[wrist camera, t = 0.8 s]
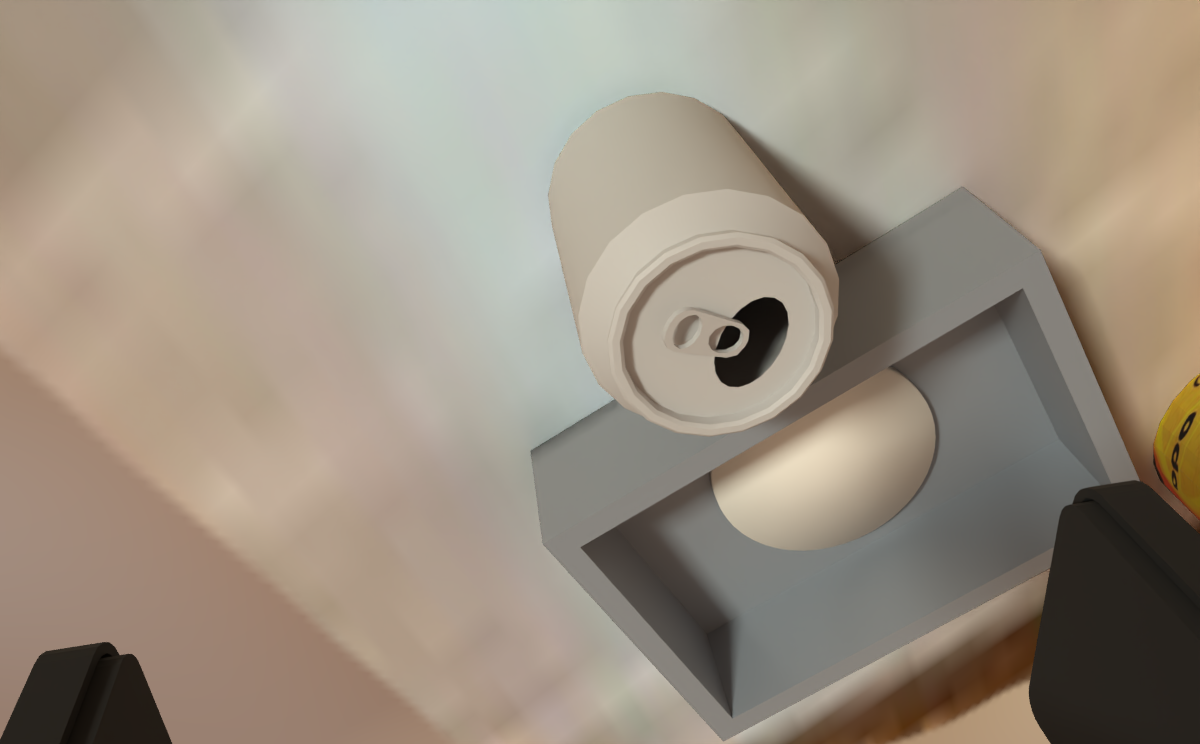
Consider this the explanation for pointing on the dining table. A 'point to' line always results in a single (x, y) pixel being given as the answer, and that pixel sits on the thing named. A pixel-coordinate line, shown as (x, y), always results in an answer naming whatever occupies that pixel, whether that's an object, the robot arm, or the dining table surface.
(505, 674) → the dining table surface
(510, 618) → the dining table surface
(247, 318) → the dining table surface
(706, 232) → the can
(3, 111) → the dining table surface
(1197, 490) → the beverage can
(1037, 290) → the bin
